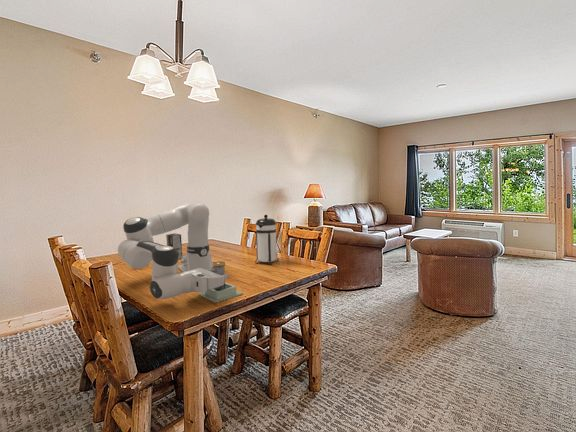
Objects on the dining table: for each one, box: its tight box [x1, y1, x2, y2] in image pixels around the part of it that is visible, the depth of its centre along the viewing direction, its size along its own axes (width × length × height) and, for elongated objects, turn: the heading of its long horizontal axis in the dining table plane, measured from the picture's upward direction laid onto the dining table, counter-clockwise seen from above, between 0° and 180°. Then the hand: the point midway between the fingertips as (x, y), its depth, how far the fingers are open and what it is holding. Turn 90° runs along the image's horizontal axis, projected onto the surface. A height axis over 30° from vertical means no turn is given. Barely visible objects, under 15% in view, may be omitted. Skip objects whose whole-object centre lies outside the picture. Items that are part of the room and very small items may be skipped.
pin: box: [212, 260, 226, 291], centre depth 137 cm, size 5×5×14 cm
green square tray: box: [198, 281, 244, 304], centre depth 138 cm, size 14×14×4 cm
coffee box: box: [165, 233, 183, 260], centre depth 207 cm, size 9×6×16 cm
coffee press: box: [254, 214, 279, 266], centre depth 193 cm, size 17×16×30 cm
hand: (221, 273), depth 138 cm, fingers open, 8 cm apart
